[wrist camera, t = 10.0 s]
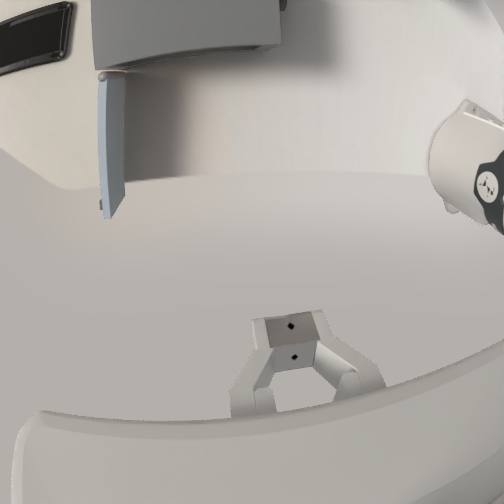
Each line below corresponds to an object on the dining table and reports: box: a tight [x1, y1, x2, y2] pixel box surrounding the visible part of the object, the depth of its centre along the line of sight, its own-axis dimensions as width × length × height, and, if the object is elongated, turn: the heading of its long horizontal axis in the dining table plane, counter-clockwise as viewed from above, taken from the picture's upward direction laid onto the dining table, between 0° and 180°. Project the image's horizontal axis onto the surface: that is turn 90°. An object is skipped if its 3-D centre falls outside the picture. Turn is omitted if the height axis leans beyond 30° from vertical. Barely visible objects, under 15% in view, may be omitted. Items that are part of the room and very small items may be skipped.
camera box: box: [91, 0, 287, 70], centre depth 20 cm, size 17×10×7 cm, turn 93°
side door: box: [98, 71, 126, 219], centre depth 26 cm, size 15×2×6 cm, turn 173°
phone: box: [0, 1, 73, 76], centre depth 19 cm, size 8×1×15 cm
